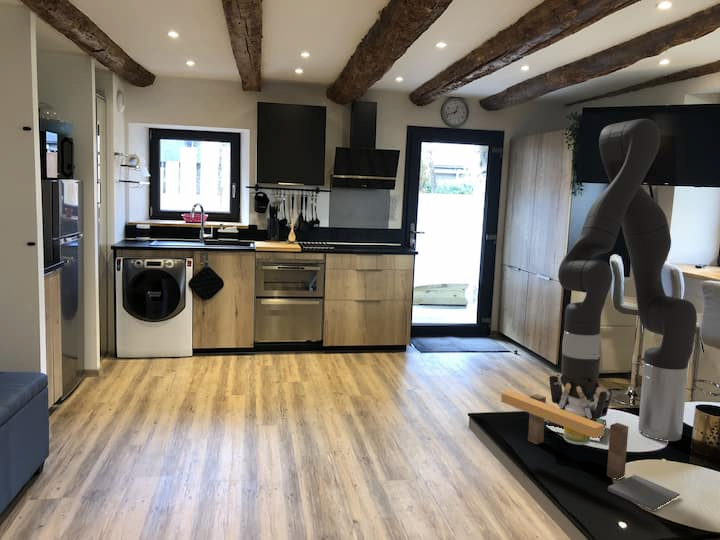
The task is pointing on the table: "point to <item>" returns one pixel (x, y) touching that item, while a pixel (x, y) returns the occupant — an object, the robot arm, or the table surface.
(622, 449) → the stand
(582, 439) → the supplement bottle
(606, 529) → the table surface
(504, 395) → the bar
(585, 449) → the table surface
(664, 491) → the book
